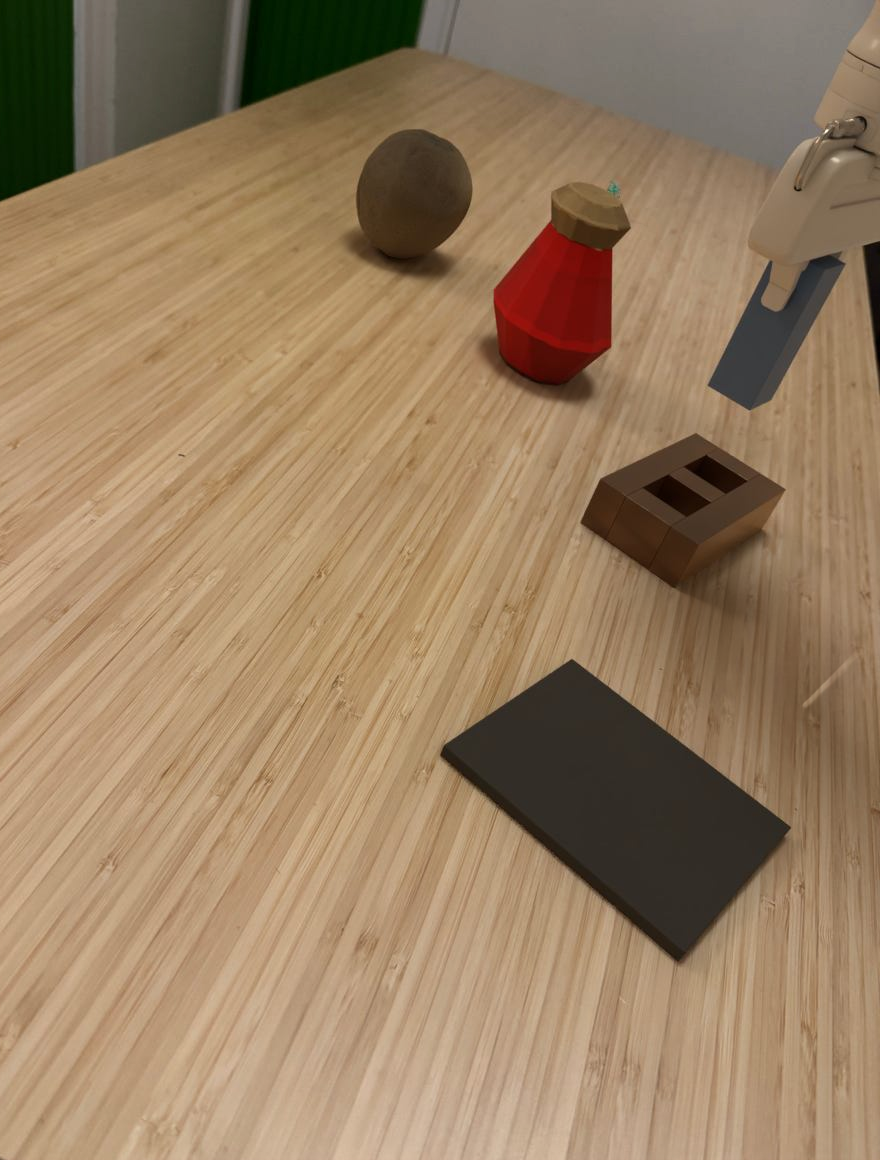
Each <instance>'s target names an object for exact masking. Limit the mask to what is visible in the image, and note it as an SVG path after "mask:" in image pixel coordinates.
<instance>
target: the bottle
mask: <svg viewBox="0 0 880 1160" xmlns="http://www.w3.org/2000/svg"><path fill="white" fill-rule="evenodd" d="M550 195H551V197H550V203H551V204H550V220H549V222H548V223H547V224H546V225H545V226H544V227H543V229H542V230H541V231H540V232H539V234H538V235H537V236H536V237H535V238H534V240H533V241H532V242H531V243H530V245H529V246H528V247H527V248H526V249H525V251H524V252H523V254H522V255H521V256H520V257H519V258H518V260H516V262H515V263H514V264H513V265H512V266H511V268H510V269H509V270H508V271H507V272H506V274H505V275H503V278H502V279H501V280H500V281H499V282H498V283H497V284H496V286H494V287H495V288H493V309H494V318H495V326H496V334H497V343H498V351H499V356H500V357H501V359H502V360H503V362H504V363H505V365H506V366H508V367H509V368H511V369H512V370H513V371H515V372H516V373H517V374H519V375H520V376H522V377H524V378H526V379H528V380H531V381H533V382H535V383H537V384H542V385H548V386H549V385H550V386H555V387H556V386H559V385H563V384H565V383H568V382H570V381H571V380H572V379H573V378H575V377H576V376H577V375H578V374H580V373H581V372H582V371H584V370H585V369H586V368H587V367H588V366H590V365H591V364H592V363H594V362H595V361H596V360H597V359H599V358H600V357H601V356H602V355H604V354H605V353H606V352H607V351H609V350H610V349H612V331H613V328H612V327H613V324H612V323H613V321H612V319H613V315H612V314H613V249H614V247H615V246H616V245H617V244H618V243H619V242H620V241H621V240H622V239H623V238H624V236H626V234H627V233H628V232H629V231H630V230H631V229H632V226H631V223H630V220H629V217H628V215H627V212H626V209H625V207H624V204H623V202H622V200H621V199H620V198H619V197H618V198H619V199H618V198H617V196H616V194H615V195H613V194H612V193H610V192H609V191H607V189H605V188H603V187H600V186H598V185H595V184H593V183H589V182H585V183H584V181H573V182H569V183H567V184H565V185H562V186H561V187H558V188H556V189H554V190H552V191H550Z"/></svg>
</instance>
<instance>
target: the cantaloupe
mask: <svg viewBox="0 0 880 1160" xmlns="http://www.w3.org/2000/svg"><path fill="white" fill-rule="evenodd" d="M356 185H357V186H356V195H355V205H356V206H355V207H356V215H357V220H358V223H359V226H360V228H361V231H362V232H363V234H364V235H365V236H366V238H367V239H368V241H370V242H371V243H372V244H373V245H375V246H376V247H377V248H378V249H379V250H380V251H382V253H383V254H385V255H386V256H389V257H390V258H394V259H409V258H416V257H420V256H423V255H426V254H428V253H431V252H432V251H434V250H435V249H437V248H439V247H440V246H441V245H442V244H444V243H445V242H446V241H447V240H449V238H450V237H451V236H452V235H453V234H454V233H455V232H456V231H457V230H458V229H459V227H460V226H461V224H462V223H463V221H464V219H465V217H466V216H467V214H468V212H469V209H470V206H471V204H472V199H473V189H474V188H473V179H472V174H471V171H470V168H469V165H468V164H467V161H466V159H465V157H464V155H463V154H462V152H461V150H460V149H459V148H458V147H457V146H456V145H454V144H453V143H452V142H451V141H449V140H448V139H447V138H443V137H441V136H438V135H437V134H435V133H433V132H430V131H428V130H426V129H421V128H417V129H416V128H410V129H409V128H408V129H403V130H399V131H397V132H393V133H392V134H390V135H388V137H386V138H385V139H384V140H383V141H381V142H380V143H379V144H378V145H377V146H376V147H375V148H374V149H373V151H372V152H371V153H370V154H369V156H368V157H367V159H366V160H365V162H364V164H363V166H362V170H361V172H360V176H359V178H358V182H357V184H356Z"/></svg>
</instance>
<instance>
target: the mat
mask: <svg viewBox="0 0 880 1160" xmlns="http://www.w3.org/2000/svg"><path fill="white" fill-rule="evenodd" d="M439 754H440V756H441V757H443V759H444V760H446V761H447V762H448V763H449V764H450V765H452V766H453V767H454V768H455V769H456V770H457V771H459V772H460V773H461V774H462V775H463V776H464V777H465V778H466V779H468V780H469V781H470V782H471V783H472V784H473V785H475V786H476V787H477V788H478V789H479V790H480V791H482V793H484V794H485V795H486V796H487V797H488V798H490V799H491V800H492V801H493V802H494V803H495V804H497V806H499V807H500V808H501V809H502V810H503V811H505V813H506V814H508V815H509V816H510V817H511V818H513V819H514V820H515V821H516V822H517V823H518V824H520V825H521V826H522V827H523V828H524V829H525V830H526V831H527V832H529V833H530V834H531V835H532V836H534V837H535V838H536V839H537V840H538V841H539V842H540V843H541V844H543V845H544V846H545V847H546V848H547V850H549V851H551V853H553V854H554V855H555V856H556V857H557V858H559V860H561V861H562V862H563V863H564V864H566V865H567V867H569V868H570V869H571V870H573V871H574V872H575V873H576V874H577V875H578V876H579V877H580V878H582V879H583V880H584V881H585V882H586V883H587V884H588V885H589V886H591V888H593V889H594V890H595V891H597V892H598V893H599V894H600V895H601V896H602V897H603V898H605V899H606V900H607V901H608V902H609V903H610V904H612V905H613V906H614V907H615V908H616V909H617V910H619V911H620V912H621V913H622V914H623V915H624V916H626V917H627V918H628V919H629V920H630V921H631V922H632V923H633V924H634V925H636V926H637V927H638V928H639V929H641V931H642V932H644V933H645V934H646V935H647V936H648V937H650V938H651V939H652V940H653V941H654V942H655V943H657V944H658V945H659V946H660V947H661V948H662V949H663V950H664V951H666V952H667V953H668V954H669V955H670V956H671V957H672V958H674V959H675V960H676V961H677V962H679V961H681V959H682V958H683V957H684V956H685V955H686V954H687V953H688V951H689V950H690V949H691V948H692V947H693V945H694V944H695V943H696V942H697V940H698V939H700V937H701V935H703V933H705V931H706V930H707V929H708V927H709V926H710V925H711V924H712V923H713V922H714V920H716V918H717V917H718V915H719V914H720V913H721V912H722V911H723V910H724V908H725V907H726V906H727V905H728V904H729V903H730V902H731V901H732V899H733V898H734V897H735V895H736V894H737V893H738V892H739V891H740V890H741V888H742V887H743V886H744V885H745V884H746V882H748V880H749V879H750V878H751V876H752V875H753V874H754V873H755V872H756V870H758V869H759V867H760V866H761V865H762V863H764V861H765V860H766V859H767V858H768V856H769V855H770V854H771V853H772V851H774V849H776V847H777V846H778V845H779V843H780V842H781V841H782V840H783V839H784V837H786V835H787V834H788V832H789V831H790V830H791V829H792V826H790V825H789V824H788V823H787V822H785V821H784V820H782V818H781V817H779V816H777V815H776V814H775V813H774V812H773V811H771V810H770V809H768V808H767V807H766V806H765V805H763V804H762V803H760V802H759V801H758V800H757V799H755V798H754V797H753V796H751V795H750V794H749V793H747V792H746V791H745V790H744V789H743V788H741V787H740V786H739V785H737V784H736V783H734V782H733V781H732V780H731V779H729V778H728V777H727V776H726V775H724V774H723V773H722V772H720V771H719V770H717V769H716V768H715V767H714V766H712V765H711V764H710V763H709V762H707V761H706V760H705V759H703V758H702V757H701V756H700V755H698V754H697V753H696V752H694V751H693V750H691V749H690V748H689V747H688V746H687V745H685V744H684V743H683V742H682V741H680V740H679V739H678V738H676V737H675V736H674V735H672V734H671V733H670V732H668V731H667V730H666V729H664V728H663V727H662V726H660V725H659V724H658V723H656V722H655V721H654V720H652V719H651V718H650V717H649V716H648V715H646V714H645V713H643V712H642V711H641V710H640V709H638V708H637V707H636V706H634V705H633V704H631V702H629V701H628V700H627V699H625V698H624V697H622V696H621V695H620V694H619V693H618V692H616V691H615V690H613V689H612V688H611V687H610V686H609V685H607V684H606V683H604V681H602V680H601V679H599V678H598V677H597V676H596V675H595V674H593V673H592V672H590V671H589V670H588V669H586V668H585V667H584V666H583V665H581V664H580V663H578V662H577V661H576V660H575V659H573V658H571V659H569V660H567V661H566V662H565V663H563V664H562V665H560V666H559V667H557V668H555V670H553V671H551V672H550V673H548V674H547V675H546V676H544V677H542V678H541V679H539V680H537V682H535V683H534V684H533V685H531V686H529V687H527V688H526V689H525V690H523V691H522V692H520V693H519V694H517V695H516V696H514V697H513V698H512V699H510V700H509V701H506V703H504V704H502V705H501V706H500V707H498V708H497V709H495V710H493V711H492V712H491V713H489V714H488V715H486V716H485V717H483V718H482V719H480V720H479V721H477V722H476V723H475V724H473V725H471V726H470V727H469V728H466V729H465V730H464V731H463V732H461V733H460V734H458V735H457V736H455V737H454V738H452V739H450V740H449V741H447V742H446V743H444V745H443V746H442V749H441V750H440V753H439Z"/></svg>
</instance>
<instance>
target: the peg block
mask: <svg viewBox="0 0 880 1160" xmlns="http://www.w3.org/2000/svg"><path fill="white" fill-rule="evenodd" d="M786 491H787V489H786V488H785V487H783V486H781V485H780V484H778V483H777V482H776V481H774V480H772V479H771V478H769V477H767V476H765V475H764V474H763V473H761V472H759V471H758V470H756V469H754V468H753V467H751V466H750V465H748V464H747V463H745V462H743V461H741V460H740V459H739V458H737V457H735V456H733V455H732V454H730V453H729V452H727V451H726V450H724V449H722V448H721V447H719V446H718V445H716V444H714V443H713V442H711V441H709V439H706V438H705V437H704V436H702V435H700V434H698V433H697V432H695V433H693V434H691V435H688V436H687V437H684V438H682V439H680V440H678V441H676V442H674V443H672V444H670V445H668V446H665V447H663V448H661V449H659V450H657V451H655V452H653V453H651V454H649V455H647V456H645V457H642V458H641V459H639V460H637V461H634V462H632V463H630V464H628V465H626V466H624V467H621V468H620V469H617V470H616V471H613V472H611V473H609V474H607V475H604V476H602V477H601V478H600V479H599V480H598V483H597V485H596V486H595V488H594V491H593V494H592V496H591V498H590V499H589V501H588V504H587V506H586V508H585V511H584V513H583V515H582V517H581V520H580V523H581V524H582V525H584V526H585V527H587V528H588V529H589V530H591V531H592V532H594V533H595V534H596V535H598V536H599V537H601V538H602V539H604V540H606V541H607V542H608V543H610V544H611V545H613V546H614V547H616V548H617V549H619V550H620V551H621V552H623V553H624V554H626V555H627V556H629V557H630V558H631V559H633V560H634V561H636V562H637V563H639V564H640V565H641V566H643V567H644V568H646V569H647V570H648V571H650V572H651V573H653V574H654V575H655V576H657V577H658V578H660V579H661V580H663V581H664V582H665V583H667V584H668V585H670V586H671V587H672V588H677V587H679V585H681V584H682V583H684V582H685V581H687V580H688V579H689V578H692V577H693V576H694V575H696V574H697V573H699V572H700V571H701V570H703V569H704V568H706V567H708V566H709V565H710V564H712V563H714V562H715V561H717V560H718V559H720V558H721V557H723V556H724V555H725V554H727V553H728V552H730V551H732V550H733V549H735V548H736V547H738V546H739V545H740V544H742V543H743V542H745V541H747V540H748V539H749V538H751V537H752V536H754V535H755V534H756V533H758V532H759V531H761V530H763V528H764V527H765V525H766V524H767V522H768V520H769V519H770V517H771V515H772V514H773V512H774V510H775V509H776V507H777V506H778V504H779V502H780V501H781V499H782V497H783V495H784V494H785V492H786Z"/></svg>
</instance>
